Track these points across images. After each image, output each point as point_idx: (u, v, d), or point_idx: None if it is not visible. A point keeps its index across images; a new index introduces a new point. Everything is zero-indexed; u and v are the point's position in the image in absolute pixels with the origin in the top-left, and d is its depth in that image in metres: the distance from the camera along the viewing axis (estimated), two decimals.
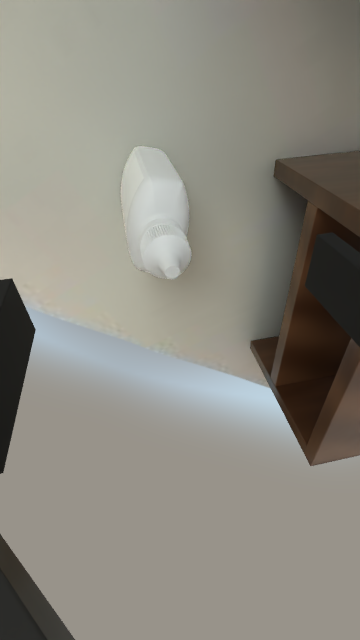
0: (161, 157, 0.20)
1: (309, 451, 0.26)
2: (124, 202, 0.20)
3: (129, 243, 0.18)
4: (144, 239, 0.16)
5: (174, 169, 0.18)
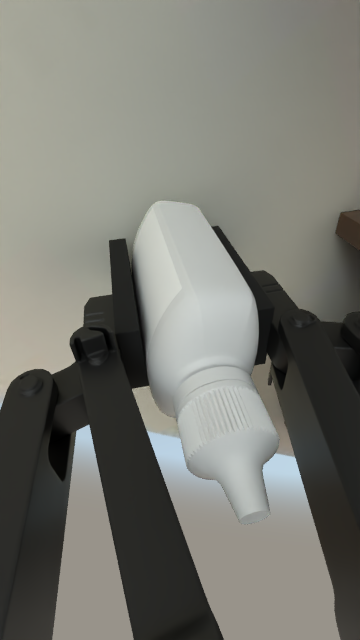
0: (200, 226, 0.12)
1: None
2: (141, 299, 0.12)
3: (153, 387, 0.10)
4: (188, 419, 0.08)
5: (228, 255, 0.11)
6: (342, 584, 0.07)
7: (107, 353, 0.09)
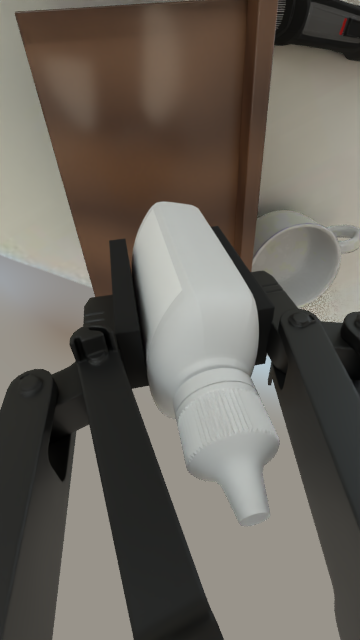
0: (200, 227, 0.12)
1: None
2: (141, 301, 0.12)
3: (153, 389, 0.10)
4: (188, 421, 0.08)
5: (228, 257, 0.11)
6: (342, 584, 0.07)
7: (107, 353, 0.09)
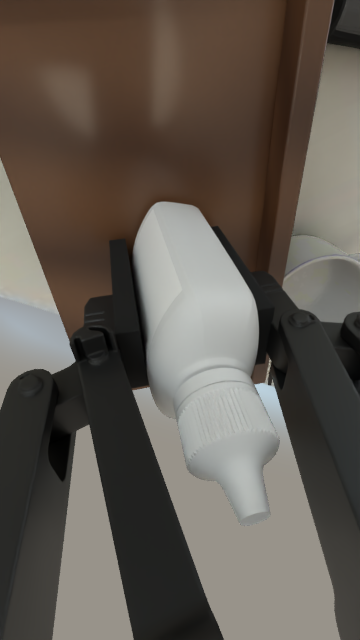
0: (200, 228, 0.12)
1: None
2: (141, 301, 0.12)
3: (153, 388, 0.10)
4: (189, 421, 0.08)
5: (228, 257, 0.11)
6: (342, 584, 0.07)
7: (107, 353, 0.09)
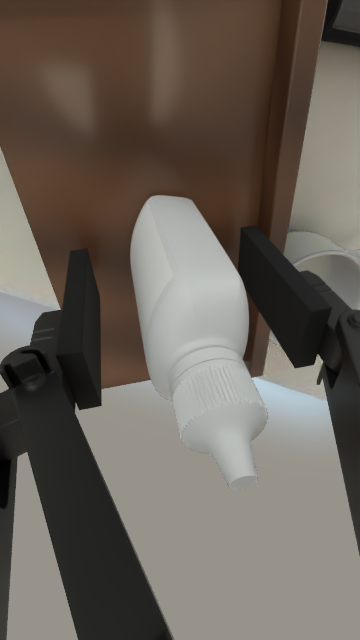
0: (193, 218, 0.13)
1: None
2: (138, 290, 0.13)
3: (151, 371, 0.11)
4: (181, 397, 0.09)
5: (218, 244, 0.11)
6: None
7: (44, 375, 0.09)
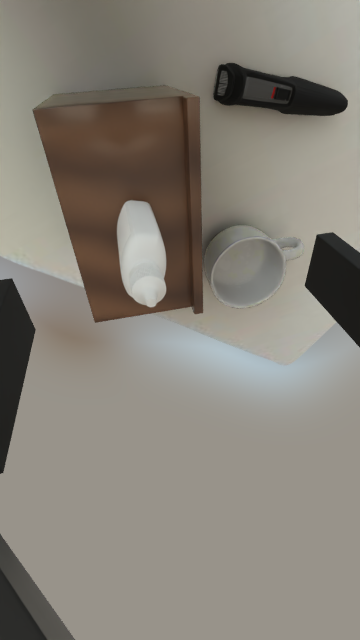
0: (145, 211, 0.26)
1: None
2: (119, 246, 0.26)
3: (123, 279, 0.24)
4: (132, 278, 0.22)
5: (154, 222, 0.25)
6: None
7: None
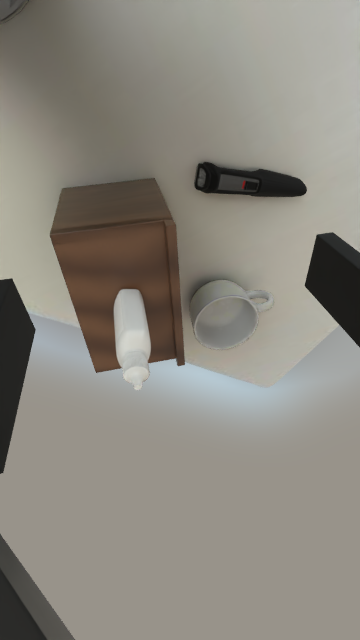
0: (135, 302, 0.34)
1: None
2: (115, 329, 0.34)
3: (117, 359, 0.32)
4: (124, 366, 0.30)
5: (141, 315, 0.32)
6: None
7: None
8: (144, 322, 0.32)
